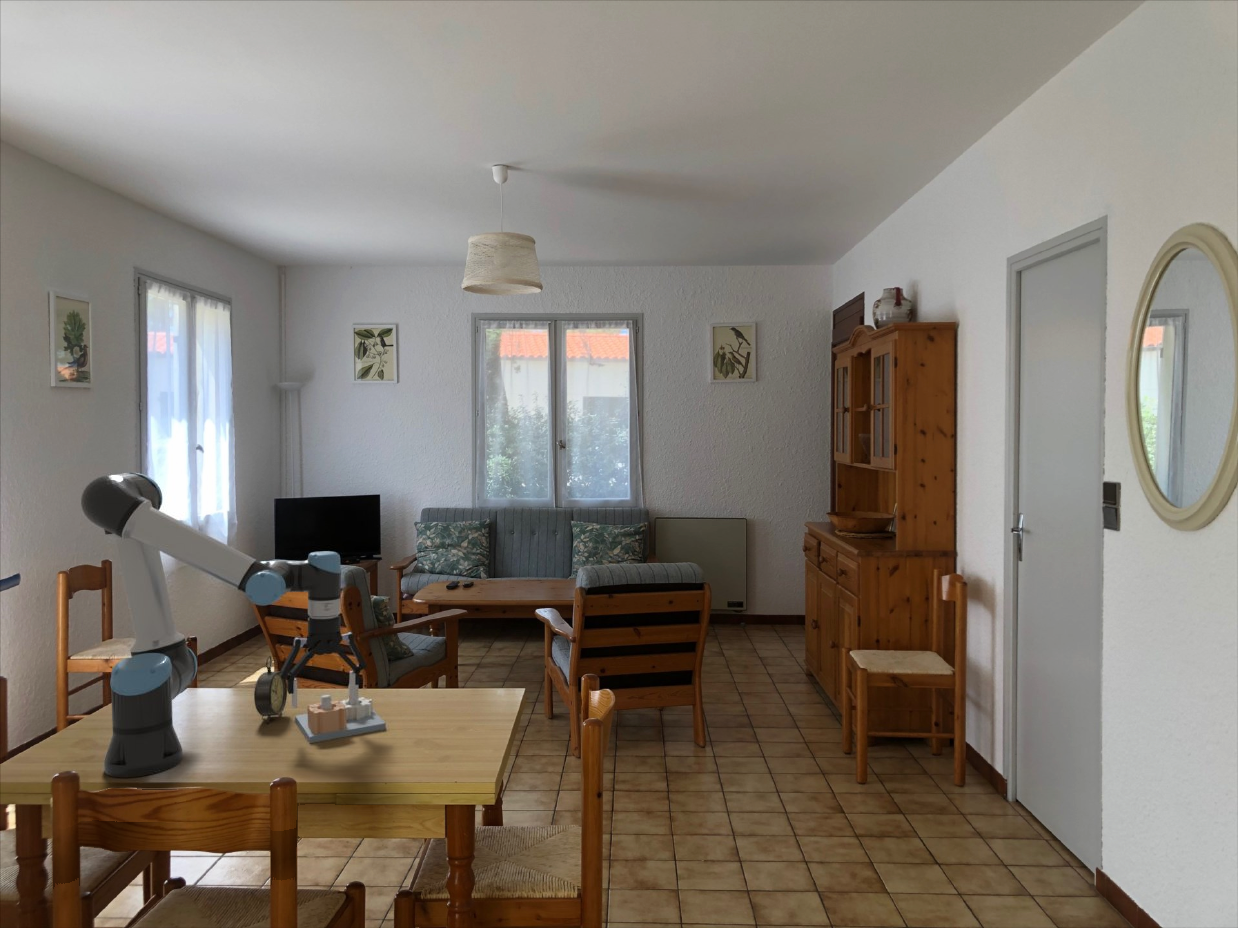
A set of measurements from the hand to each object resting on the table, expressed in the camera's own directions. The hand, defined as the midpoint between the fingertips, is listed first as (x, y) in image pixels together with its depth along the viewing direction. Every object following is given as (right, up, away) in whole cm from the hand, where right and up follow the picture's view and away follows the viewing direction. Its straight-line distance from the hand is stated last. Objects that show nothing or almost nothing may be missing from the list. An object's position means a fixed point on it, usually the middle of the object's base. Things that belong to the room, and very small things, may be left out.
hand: (323, 702), depth 209 cm
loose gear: (+1, -6, 0) cm, 6 cm away
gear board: (+2, -7, +6) cm, 10 cm away
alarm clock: (-18, -8, +11) cm, 22 cm away
